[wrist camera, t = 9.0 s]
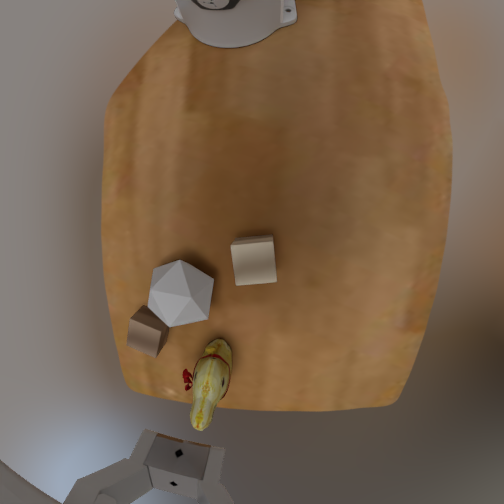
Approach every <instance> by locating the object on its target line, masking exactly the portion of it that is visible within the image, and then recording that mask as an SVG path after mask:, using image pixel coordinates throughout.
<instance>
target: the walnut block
mask: <svg viewBox="0 0 504 504" xmlns="http://www.w3.org/2000/svg"><path fill="white" fill-rule="evenodd" d="M169 328H170V327H169V326H167V325H166V324H165V323H164V322H163V321H162V320H161V319H160V318H159V317H158V316H157V315H156V314H155V313H154V312H153V311H151V310H150V309H149V308H148V307H146V306H144V305H143V306H142V307H141V308H140V309H139V310H138V311H137V312H136V313H135V314H134V315H133V316H132V317H131V318H130V322H129V329H128V337H127V346H129V347H132V348H134V349H136V350H138V351H141V352H143V353H145V354H148V355H150V356H152V357H155V358H156V357H157V356H158V354H159V353H160V351H161V349H162V348H163V346H164V345H165V343H166V341H167V337H168V332H169Z"/></svg>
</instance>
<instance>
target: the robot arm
mask: <svg viewBox="0 0 504 504" xmlns="http://www.w3.org/2000/svg"><path fill="white" fill-rule="evenodd" d="M175 2H176V4H177V7H176V9H175V11H174V15H175V17H176V19H178V20H179V21H181V22H183V23H185V24H186V25H187V27H188V28H189V30H190V32H191V33H192V35H193V36H194V37H195V38H197V39H198V40H199V41H201V42H203V43H205V44H208V45H211V46H215V47H222V48H234V47H242V46H247V45H250V44H253V43H256V42H258V41H261V40H262V39H264V38H266V37H267V36H269V35H270V34H271V33H273V32H274V31H275V30H277V29H278V28H281V27H284V26H288V25H291V24H293V23H295V22H296V21H297V12H296V5H295V0H175ZM286 11H290V12H286ZM224 454H225V448H220V447H214V446H210V445H206V444H200V443H195V442H191V441H187V440H181V439H177V438H174V437H170V436H167V435H163V434H160V433H157V432H154V431H151V430H147V429H145V430H144V431H143V432H142V434H141V436H140V438H139V440H138V442H137V444H136V446H135V448H134V450H133V452H132V454H131V456H130V458H129V459H126V458H125V459H123V460H121V461H119V462H117V463H114V464H112V465H110V466H108V467H106V468H104V469H101V470H99V471H97V472H95V473H92V474H90V475H88V476H85V477H83V478H80V479H78V480H77V481H76V483H75V484H74V486H73V488H72V490H71V491H70V493H69V495H68V496H67V498H66V500H65V501H64V503H63V504H130V503H132V502H133V501H135V500H136V499H138V498H139V497H141V496H142V495H144V494H145V493H147V492H148V491H150V490H151V489H152V487H153V488H156V489H160V490H164V491H167V492H172V493H175V494H179V495H183V496H186V497H190V498H194V499H197V501H198V503H199V504H234V502H233V500H232V499H231V497H230V495H229V494H228V492H227V490H226V489H225V487H224V485H223V484H219V481H220V476H221V470H222V465H223V459H224ZM0 504H62V503H60V502H58V501H57V500H55V499H53V498H52V497H50V496H49V495H47V494H45V493H44V492H42V491H41V490H39V489H38V488H36V487H35V486H34V485H32V484H30V483H29V482H28V481H27V480H25V479H24V478H22V477H21V476H20V475H18V474H17V473H16V472H15V471H13V470H12V469H11V468H9V467H8V466H7V465H6V464H5V463H3V462H2V461H1V460H0Z"/></svg>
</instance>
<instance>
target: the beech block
mask: <svg viewBox="0 0 504 504" xmlns="http://www.w3.org/2000/svg"><path fill="white" fill-rule="evenodd" d="M231 253H232V260H233V268H234V275H235V283H236V286H237V285H249V284H261V283H272V282H277V275H276V263H275V253H274V242H273V234H272V235H262V236H252V237H242V238H235V240H234V241H233V243H232V244H231Z"/></svg>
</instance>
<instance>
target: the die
mask: <svg viewBox="0 0 504 504" xmlns="http://www.w3.org/2000/svg"><path fill="white" fill-rule="evenodd" d="M213 283H214V279H213V278H211V277H210V276H208V275H206V274H205V273H203V272H202V271H200V270H198V269H197V268H195V267H194V266H192V265H190V264H189V263H186V262H184V261H182V260H177V261H174V262H172V263H169V264H166V265H163V266H160V267H157V268H154V269H153V275H152V281H151V287H150V294H149V301H148V308H149V309H150V310H151V311H153V312H154V313H155V314H156V315H157V316H158V317H159V318H160V319H161V320H162V321H163V322H164V323H165V324H166V325H167V326H169V327H173V326H178V325H183V324H188V323H193V322H197V321H202V320H206V319H208V316H209V309H210V303H211V296H212V290H213Z"/></svg>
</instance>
